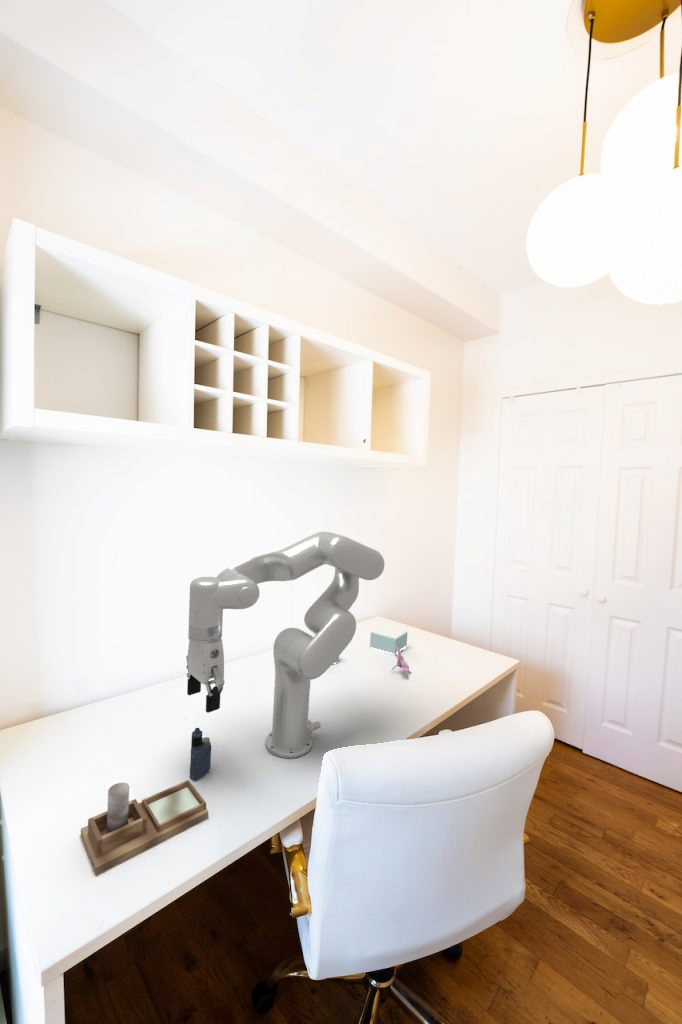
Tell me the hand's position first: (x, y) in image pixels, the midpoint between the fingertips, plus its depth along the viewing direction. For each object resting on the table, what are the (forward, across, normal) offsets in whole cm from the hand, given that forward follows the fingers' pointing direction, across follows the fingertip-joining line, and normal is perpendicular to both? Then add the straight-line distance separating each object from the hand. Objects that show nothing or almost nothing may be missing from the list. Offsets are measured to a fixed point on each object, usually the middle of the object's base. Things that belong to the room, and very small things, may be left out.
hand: (203, 701), depth 102 cm
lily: (+19, +7, -84) cm, 86 cm away
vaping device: (+18, 0, 0) cm, 18 cm away
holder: (+18, -8, +15) cm, 25 cm away
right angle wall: (+20, +26, -100) cm, 105 cm away
